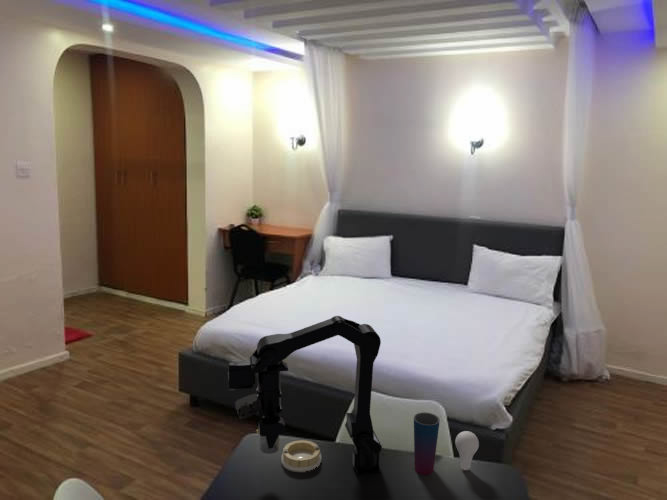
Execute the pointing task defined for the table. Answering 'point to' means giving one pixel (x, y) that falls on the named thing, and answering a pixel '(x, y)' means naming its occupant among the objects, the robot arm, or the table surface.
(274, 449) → the bayonet cap
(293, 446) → the ring
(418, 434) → the cup
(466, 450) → the lightbulb
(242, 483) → the table surface
